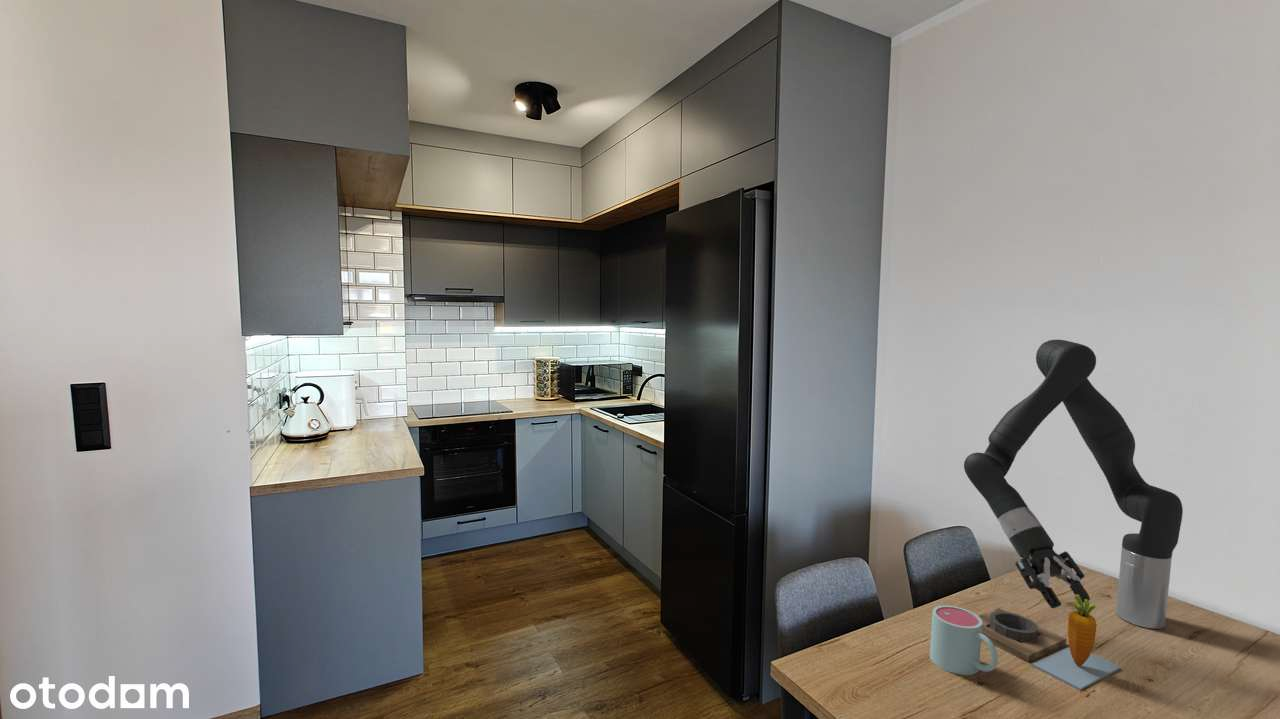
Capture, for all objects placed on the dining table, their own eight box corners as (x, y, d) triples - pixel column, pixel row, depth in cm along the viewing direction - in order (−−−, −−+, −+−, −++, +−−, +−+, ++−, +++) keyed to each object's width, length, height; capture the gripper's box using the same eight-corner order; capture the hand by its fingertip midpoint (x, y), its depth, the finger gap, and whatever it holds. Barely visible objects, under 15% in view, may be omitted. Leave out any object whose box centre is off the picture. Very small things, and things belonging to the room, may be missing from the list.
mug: (919, 654, 126) (922, 609, 125) (950, 645, 130) (953, 602, 129) (978, 693, 114) (982, 643, 113) (1010, 682, 117) (1014, 634, 117)
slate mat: (1072, 646, 131) (1072, 645, 131) (1120, 668, 123) (1120, 666, 123) (1031, 665, 123) (1032, 663, 123) (1080, 690, 115) (1080, 688, 115)
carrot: (1098, 674, 120) (1104, 605, 118) (1071, 671, 121) (1077, 602, 119) (1085, 660, 125) (1090, 593, 123) (1059, 657, 126) (1064, 590, 124)
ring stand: (998, 613, 145) (999, 600, 144) (1066, 644, 131) (1067, 630, 131) (960, 628, 137) (962, 613, 137) (1028, 662, 124) (1029, 646, 124)
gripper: (1013, 527, 129) (1061, 602, 119) (1059, 521, 133) (1109, 593, 124) (990, 542, 134) (1034, 614, 124) (1035, 535, 139) (1081, 605, 129)
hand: (1071, 604), depth 124 cm, fingers open, 8 cm apart
